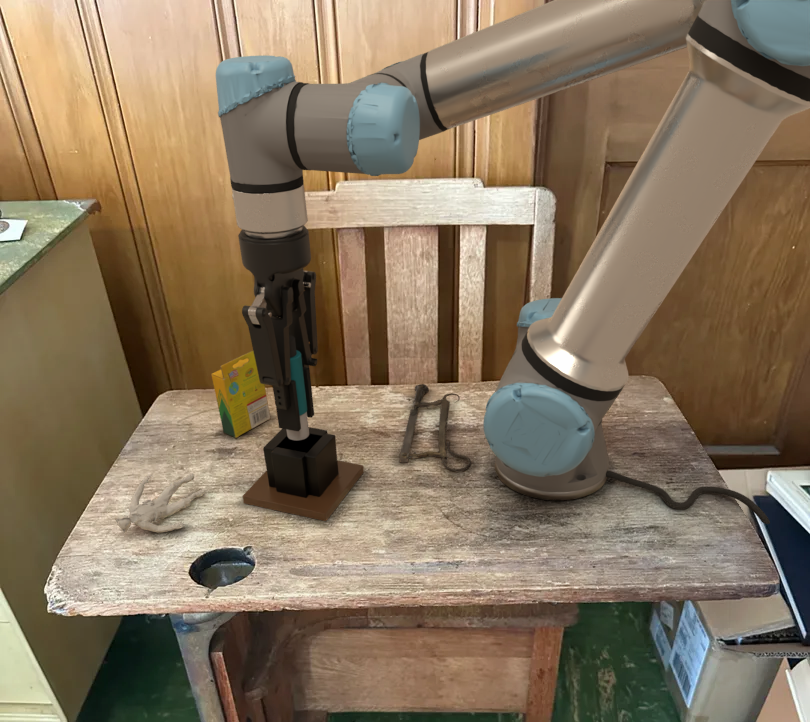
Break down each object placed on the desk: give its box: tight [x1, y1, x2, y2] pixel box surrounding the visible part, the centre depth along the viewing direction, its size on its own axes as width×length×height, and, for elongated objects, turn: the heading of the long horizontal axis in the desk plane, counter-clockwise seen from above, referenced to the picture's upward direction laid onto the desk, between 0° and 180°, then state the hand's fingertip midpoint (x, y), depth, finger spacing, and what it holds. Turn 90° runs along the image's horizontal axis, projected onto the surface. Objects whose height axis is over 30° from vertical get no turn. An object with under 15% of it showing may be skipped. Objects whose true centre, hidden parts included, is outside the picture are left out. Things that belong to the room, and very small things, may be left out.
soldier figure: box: [114, 472, 206, 535], centre depth 96 cm, size 8×5×12 cm
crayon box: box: [210, 350, 271, 439], centre depth 112 cm, size 7×3×12 cm, turn 141°
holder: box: [242, 426, 365, 522], centre depth 100 cm, size 12×12×7 cm
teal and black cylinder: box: [286, 336, 310, 441], centre depth 93 cm, size 3×3×13 cm
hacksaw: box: [398, 383, 472, 473], centre depth 113 cm, size 24×10×2 cm, turn 173°
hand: (296, 421), depth 96 cm, fingers closed on teal and black cylinder, 3 cm apart
